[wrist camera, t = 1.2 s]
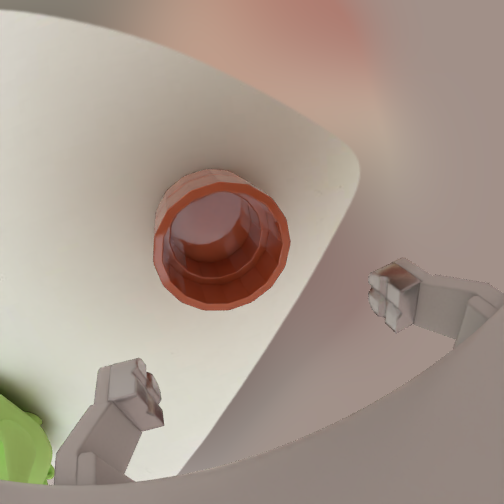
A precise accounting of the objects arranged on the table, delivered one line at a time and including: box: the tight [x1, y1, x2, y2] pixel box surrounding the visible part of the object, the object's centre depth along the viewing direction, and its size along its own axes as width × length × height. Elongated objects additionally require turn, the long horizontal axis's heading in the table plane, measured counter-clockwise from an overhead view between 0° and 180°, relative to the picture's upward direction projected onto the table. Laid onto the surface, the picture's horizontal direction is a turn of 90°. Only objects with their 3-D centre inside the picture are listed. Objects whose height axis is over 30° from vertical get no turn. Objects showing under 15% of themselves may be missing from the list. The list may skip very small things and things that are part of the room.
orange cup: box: [153, 169, 290, 310], centre depth 16 cm, size 7×7×5 cm
